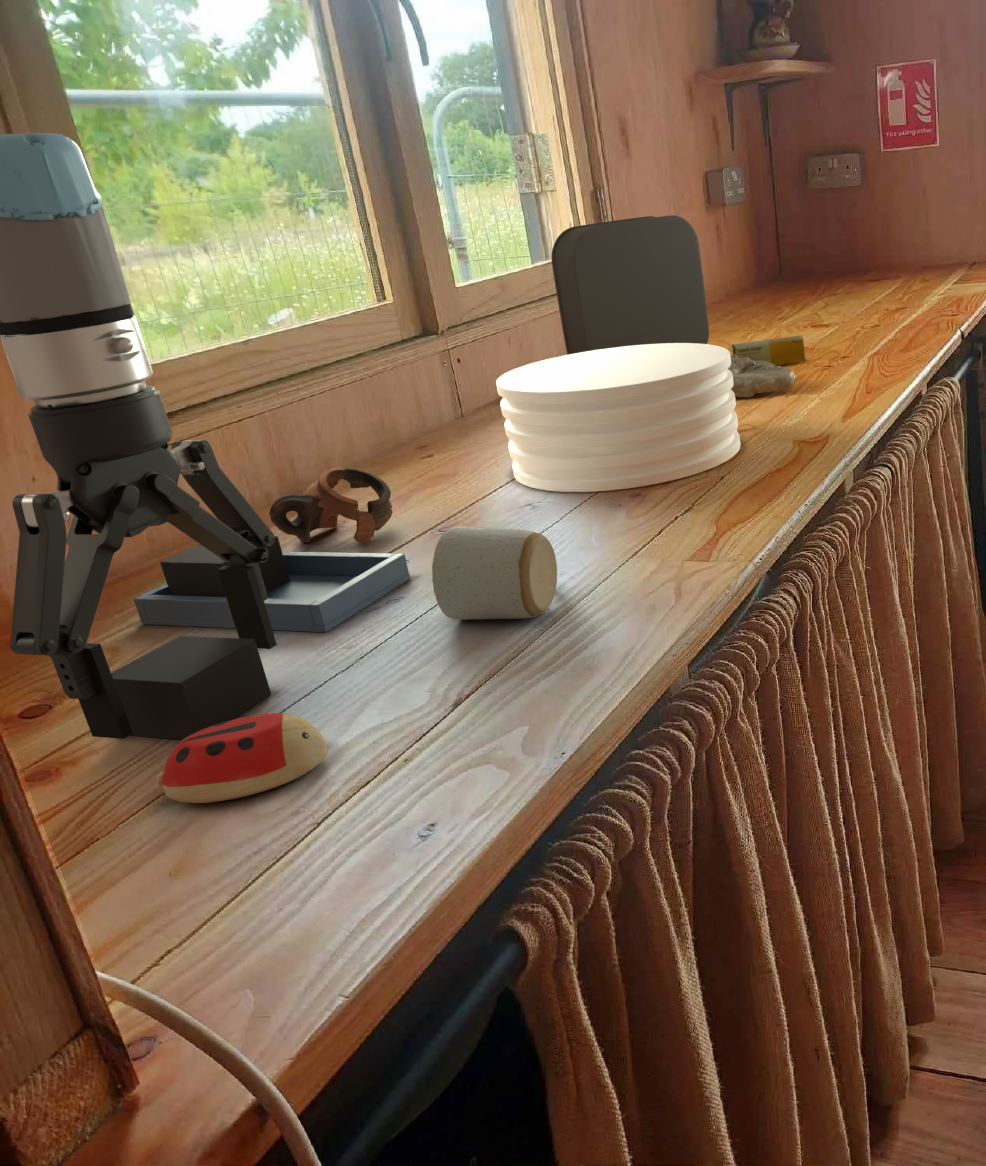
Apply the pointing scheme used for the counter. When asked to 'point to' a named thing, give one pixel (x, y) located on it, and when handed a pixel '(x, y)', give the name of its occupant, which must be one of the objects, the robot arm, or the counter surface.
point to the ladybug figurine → (241, 758)
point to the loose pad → (190, 685)
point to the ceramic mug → (493, 573)
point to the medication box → (772, 350)
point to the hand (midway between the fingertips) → (192, 687)
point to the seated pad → (216, 571)
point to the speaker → (630, 284)
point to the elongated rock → (758, 377)
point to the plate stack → (620, 416)
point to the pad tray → (292, 593)
